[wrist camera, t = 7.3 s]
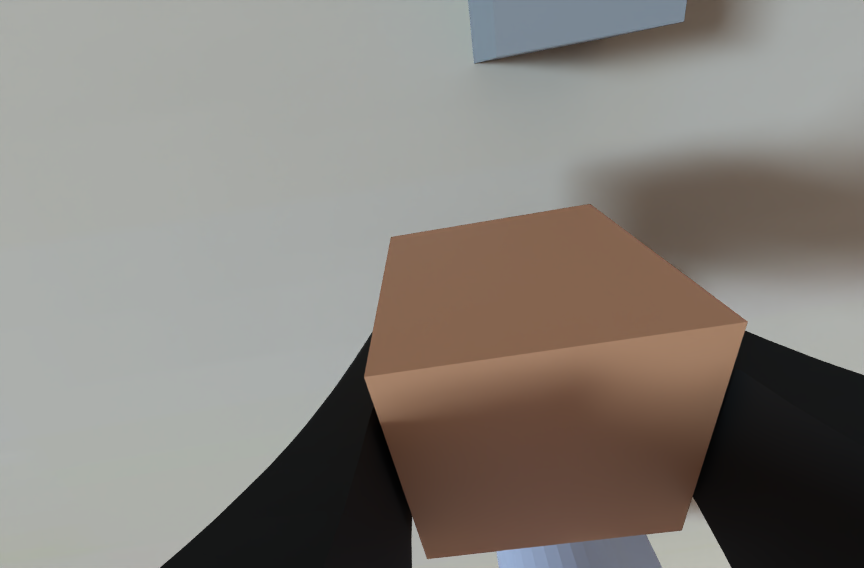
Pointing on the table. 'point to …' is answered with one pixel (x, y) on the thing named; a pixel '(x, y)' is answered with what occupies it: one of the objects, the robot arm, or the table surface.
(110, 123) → the table surface
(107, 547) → the table surface
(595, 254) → the orange block
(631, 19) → the slate block
